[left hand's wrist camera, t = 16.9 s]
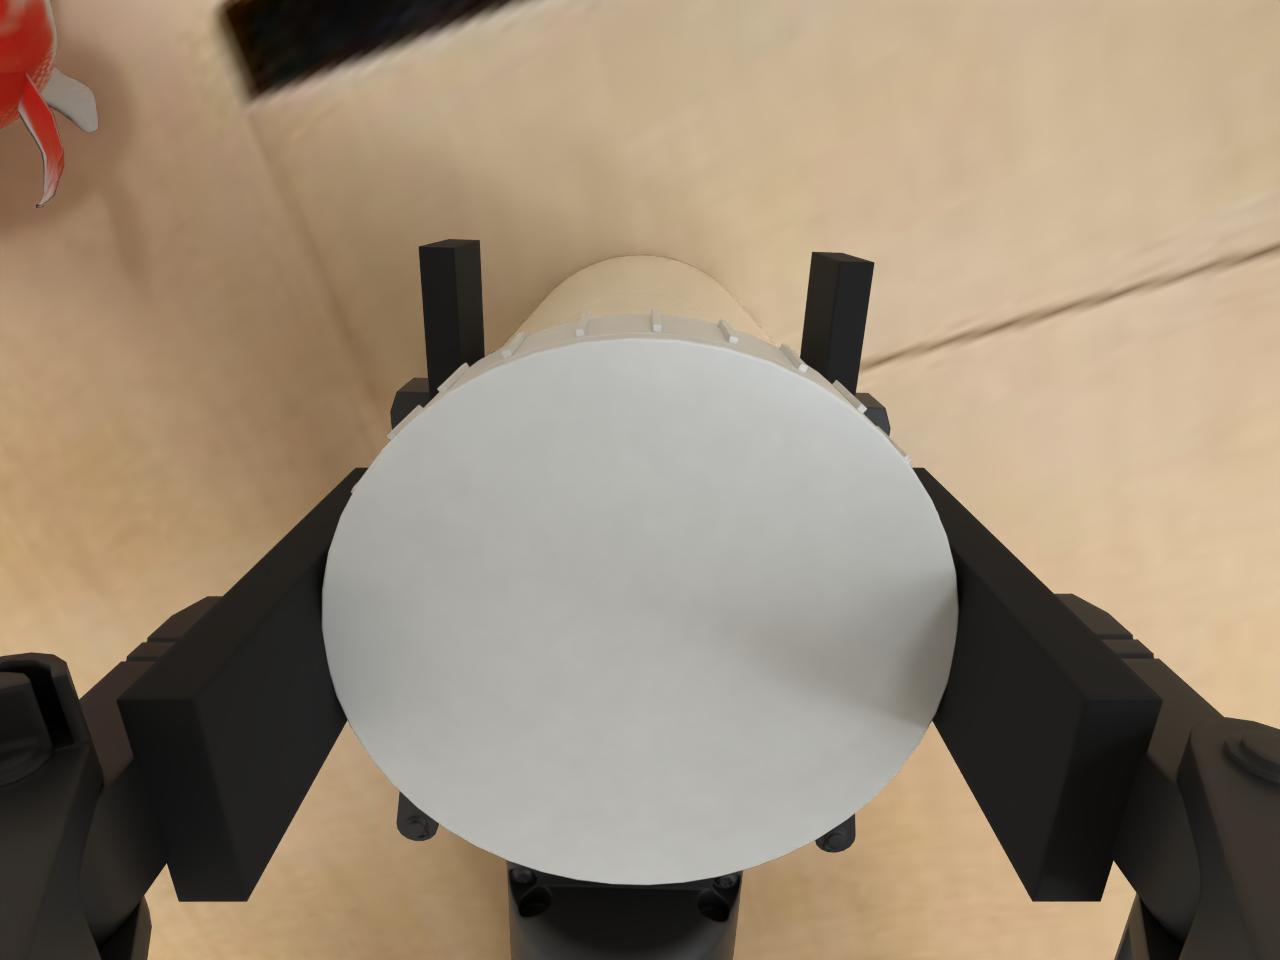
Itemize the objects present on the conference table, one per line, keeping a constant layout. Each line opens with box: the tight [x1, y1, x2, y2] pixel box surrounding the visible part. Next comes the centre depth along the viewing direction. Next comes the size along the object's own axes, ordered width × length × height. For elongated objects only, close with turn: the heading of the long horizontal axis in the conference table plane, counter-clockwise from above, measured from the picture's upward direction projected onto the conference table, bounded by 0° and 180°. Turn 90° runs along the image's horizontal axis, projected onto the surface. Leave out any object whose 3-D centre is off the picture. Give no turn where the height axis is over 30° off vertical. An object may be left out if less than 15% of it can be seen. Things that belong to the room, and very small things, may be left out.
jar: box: [501, 255, 778, 348], centre depth 18 cm, size 8×8×15 cm
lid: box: [322, 309, 959, 885], centre depth 11 cm, size 9×9×2 cm
